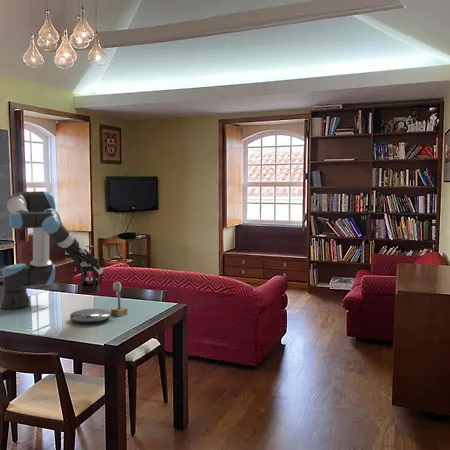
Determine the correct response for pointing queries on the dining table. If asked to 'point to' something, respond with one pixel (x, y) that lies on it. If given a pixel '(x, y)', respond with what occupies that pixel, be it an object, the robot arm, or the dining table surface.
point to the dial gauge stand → (119, 310)
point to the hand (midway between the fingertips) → (95, 271)
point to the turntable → (90, 315)
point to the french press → (90, 278)
